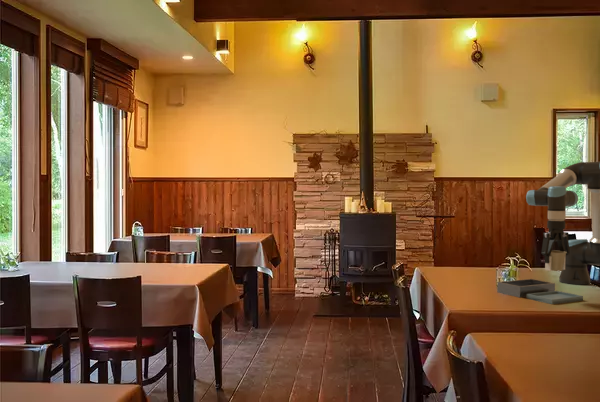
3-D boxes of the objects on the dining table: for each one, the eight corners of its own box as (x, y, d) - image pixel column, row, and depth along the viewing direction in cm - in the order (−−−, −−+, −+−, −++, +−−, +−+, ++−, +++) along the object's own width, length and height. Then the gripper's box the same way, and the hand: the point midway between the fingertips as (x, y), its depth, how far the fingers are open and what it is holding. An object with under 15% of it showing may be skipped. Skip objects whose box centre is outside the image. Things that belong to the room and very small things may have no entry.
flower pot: (568, 272, 255) (569, 253, 254) (546, 271, 256) (546, 252, 256) (563, 269, 264) (563, 250, 264) (541, 268, 266) (542, 249, 265)
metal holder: (531, 288, 287) (531, 278, 287) (554, 293, 274) (555, 283, 274) (497, 292, 277) (497, 281, 276) (519, 297, 264) (520, 286, 264)
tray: (556, 294, 271) (557, 290, 271) (582, 300, 259) (583, 296, 259) (526, 298, 262) (526, 293, 262) (551, 304, 250) (551, 299, 250)
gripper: (565, 219, 267) (564, 267, 268) (532, 220, 258) (531, 269, 259) (579, 220, 261) (578, 269, 261) (546, 221, 251) (545, 272, 252)
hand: (555, 269), depth 260 cm, fingers closed on flower pot, 8 cm apart
